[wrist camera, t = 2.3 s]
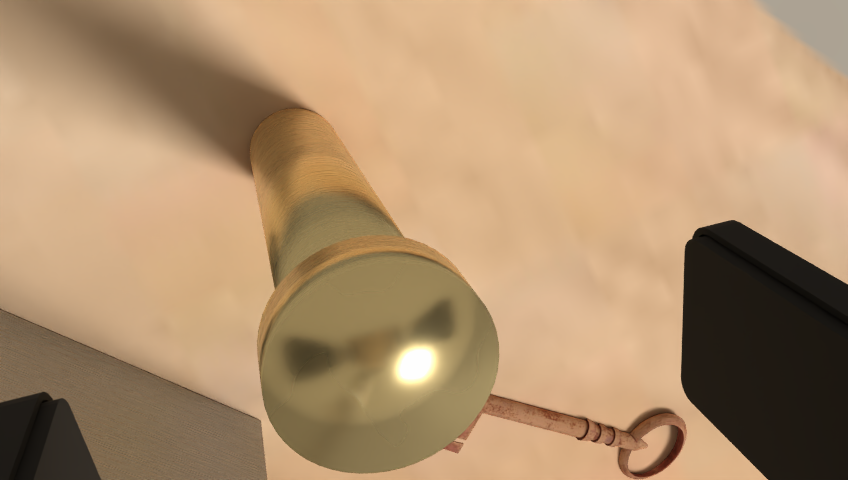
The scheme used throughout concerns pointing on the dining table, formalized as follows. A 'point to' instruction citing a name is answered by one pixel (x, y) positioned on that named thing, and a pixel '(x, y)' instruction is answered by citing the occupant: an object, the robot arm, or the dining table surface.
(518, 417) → the key
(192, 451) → the bracket
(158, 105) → the dining table surface
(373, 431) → the hinge pin
